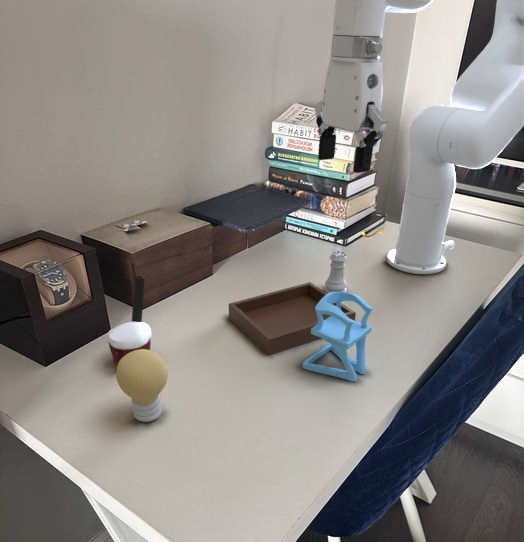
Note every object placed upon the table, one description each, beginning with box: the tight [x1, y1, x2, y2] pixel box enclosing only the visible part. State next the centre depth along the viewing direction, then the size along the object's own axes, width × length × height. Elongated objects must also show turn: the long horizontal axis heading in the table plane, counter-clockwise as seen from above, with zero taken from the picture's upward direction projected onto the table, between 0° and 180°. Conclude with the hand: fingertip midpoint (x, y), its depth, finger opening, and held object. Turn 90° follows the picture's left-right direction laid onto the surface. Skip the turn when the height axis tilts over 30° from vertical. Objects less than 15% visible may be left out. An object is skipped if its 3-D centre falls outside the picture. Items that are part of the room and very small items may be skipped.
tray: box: [228, 281, 357, 356], centre depth 89 cm, size 18×14×3 cm
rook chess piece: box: [323, 249, 348, 294], centre depth 98 cm, size 4×4×8 cm
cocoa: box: [106, 275, 153, 366], centre depth 77 cm, size 10×6×12 cm, turn 140°
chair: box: [302, 291, 374, 383], centre depth 75 cm, size 8×8×12 cm
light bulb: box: [115, 349, 169, 423], centre depth 66 cm, size 6×6×10 cm
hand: (342, 165), depth 88 cm, fingers open, 9 cm apart
